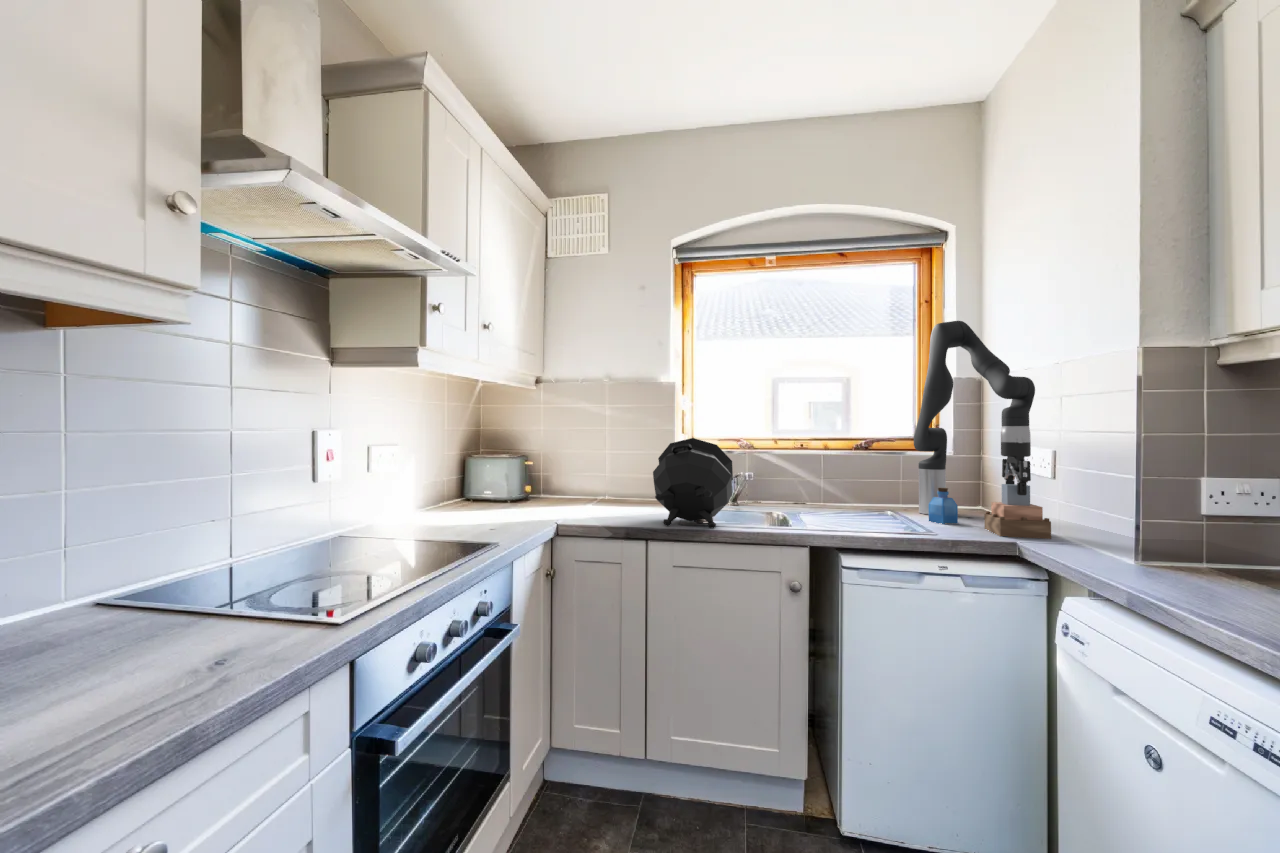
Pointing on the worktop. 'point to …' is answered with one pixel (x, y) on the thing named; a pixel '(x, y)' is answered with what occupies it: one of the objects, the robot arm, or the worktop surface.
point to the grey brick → (1014, 495)
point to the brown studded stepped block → (1017, 521)
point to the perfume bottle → (943, 508)
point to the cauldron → (693, 480)
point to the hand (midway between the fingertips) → (1015, 493)
